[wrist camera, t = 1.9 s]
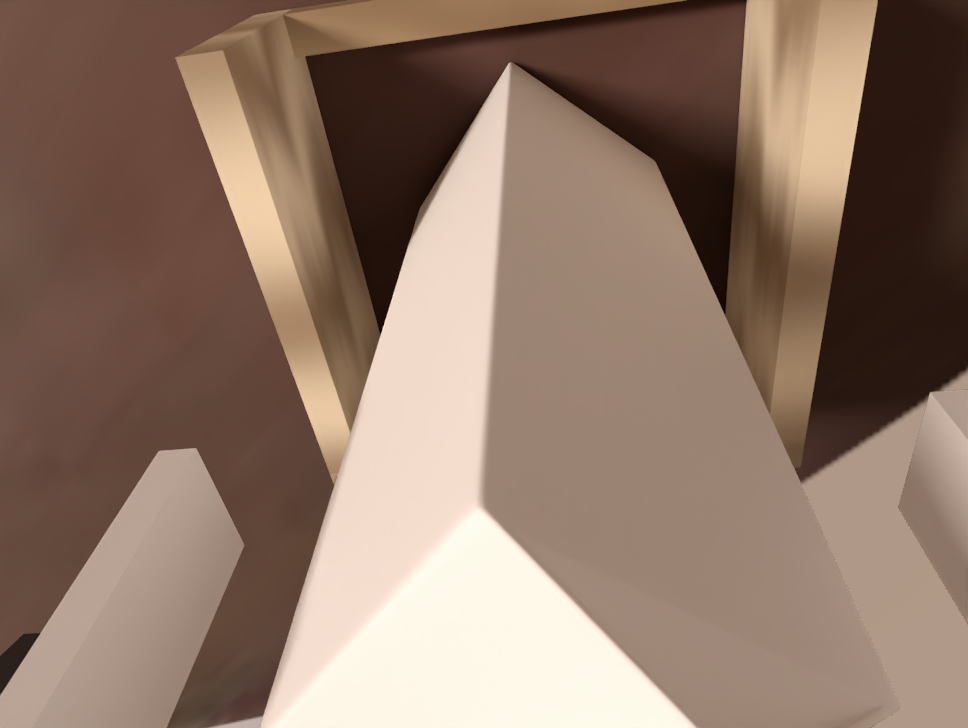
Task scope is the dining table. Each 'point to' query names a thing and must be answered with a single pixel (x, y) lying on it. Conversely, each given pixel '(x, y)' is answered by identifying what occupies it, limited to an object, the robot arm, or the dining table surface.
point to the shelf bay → (501, 3)
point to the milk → (566, 476)
